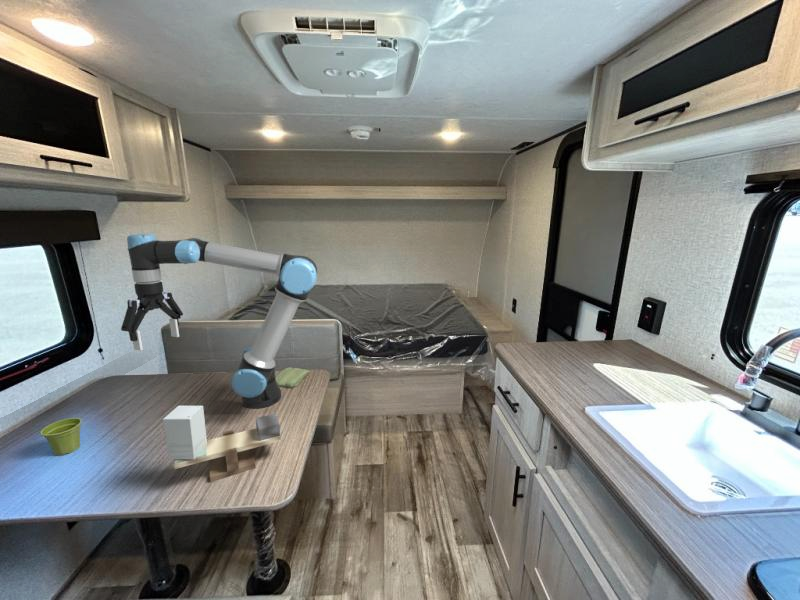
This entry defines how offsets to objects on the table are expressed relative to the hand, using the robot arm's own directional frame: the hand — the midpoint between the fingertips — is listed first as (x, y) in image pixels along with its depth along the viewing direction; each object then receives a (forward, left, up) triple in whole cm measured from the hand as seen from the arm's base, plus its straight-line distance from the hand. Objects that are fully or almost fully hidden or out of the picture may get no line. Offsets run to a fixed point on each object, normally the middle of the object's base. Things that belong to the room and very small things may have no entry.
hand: (158, 342), depth 117 cm
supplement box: (+18, +29, -24) cm, 41 cm away
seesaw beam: (+11, +36, -26) cm, 46 cm away
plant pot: (+20, -20, -32) cm, 43 cm away
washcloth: (-44, +21, -32) cm, 59 cm away
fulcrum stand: (+11, +36, -32) cm, 49 cm away
